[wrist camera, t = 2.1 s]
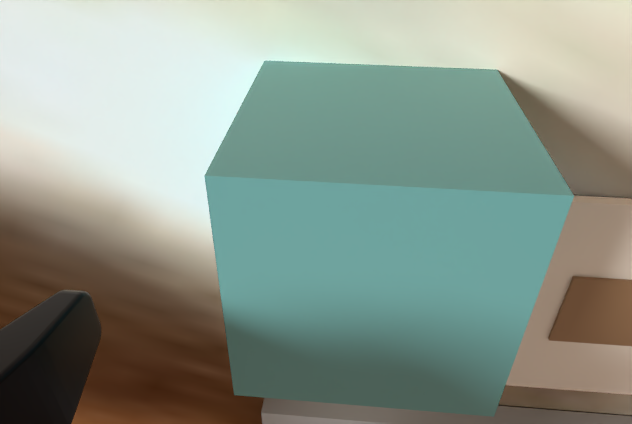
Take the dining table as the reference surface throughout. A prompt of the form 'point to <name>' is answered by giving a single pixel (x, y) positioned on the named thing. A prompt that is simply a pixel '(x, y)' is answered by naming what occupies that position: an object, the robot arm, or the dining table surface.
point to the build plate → (418, 415)
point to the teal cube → (381, 235)
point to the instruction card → (583, 305)
